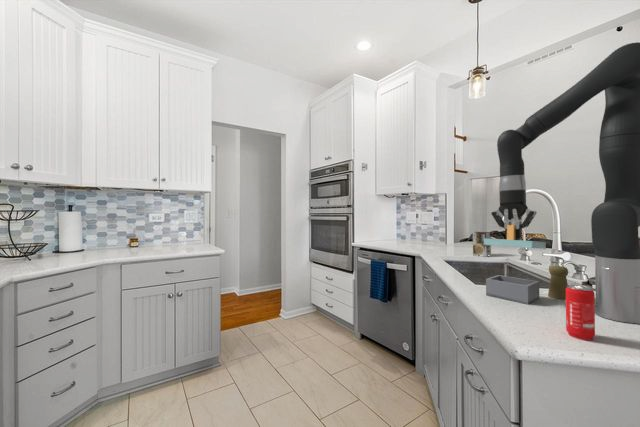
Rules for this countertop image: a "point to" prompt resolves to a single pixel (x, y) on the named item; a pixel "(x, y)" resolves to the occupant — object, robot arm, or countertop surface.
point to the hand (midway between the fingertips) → (513, 239)
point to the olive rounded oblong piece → (558, 282)
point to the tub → (512, 289)
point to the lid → (514, 241)
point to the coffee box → (481, 243)
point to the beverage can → (580, 312)
